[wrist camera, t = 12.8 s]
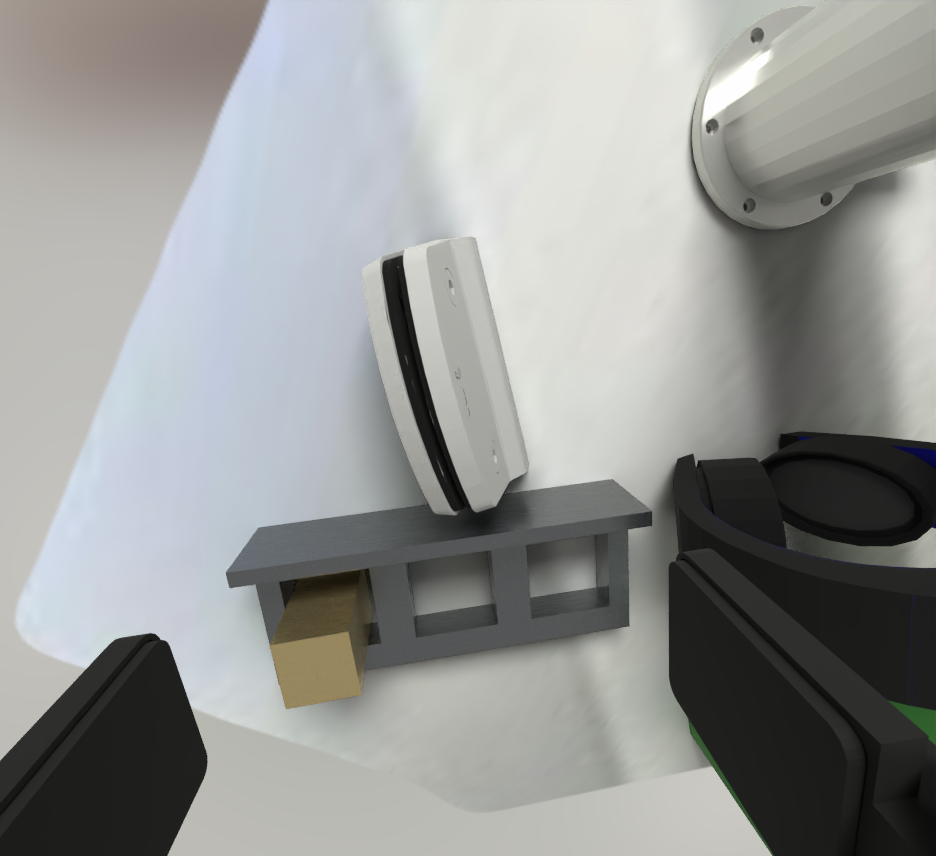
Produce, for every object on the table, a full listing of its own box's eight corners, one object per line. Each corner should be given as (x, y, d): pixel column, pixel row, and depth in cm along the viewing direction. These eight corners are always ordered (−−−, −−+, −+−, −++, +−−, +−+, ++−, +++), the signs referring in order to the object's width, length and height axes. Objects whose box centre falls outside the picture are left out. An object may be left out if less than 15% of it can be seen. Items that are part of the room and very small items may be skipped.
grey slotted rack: (612, 479, 35) (652, 511, 29) (615, 606, 38) (652, 658, 32) (258, 527, 33) (225, 573, 27) (288, 659, 35) (264, 726, 30)
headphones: (626, 538, 37) (868, 785, 17) (617, 460, 35) (874, 636, 16) (843, 487, 38) (1294, 664, 19) (845, 409, 36) (1341, 515, 17)
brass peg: (362, 561, 34) (348, 631, 27) (372, 612, 35) (361, 695, 28) (302, 570, 34) (269, 645, 26) (313, 622, 35) (285, 709, 27)
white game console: (530, 468, 34) (513, 540, 25) (469, 477, 36) (432, 549, 26) (474, 231, 30) (428, 212, 21) (407, 252, 31) (336, 243, 22)
